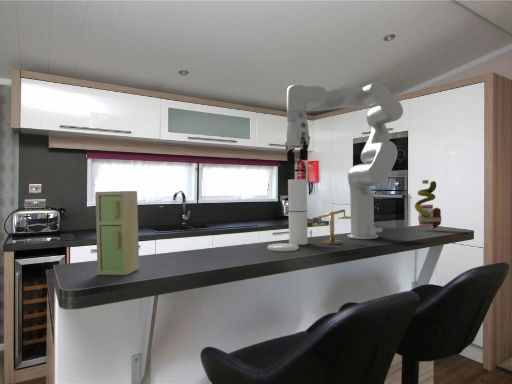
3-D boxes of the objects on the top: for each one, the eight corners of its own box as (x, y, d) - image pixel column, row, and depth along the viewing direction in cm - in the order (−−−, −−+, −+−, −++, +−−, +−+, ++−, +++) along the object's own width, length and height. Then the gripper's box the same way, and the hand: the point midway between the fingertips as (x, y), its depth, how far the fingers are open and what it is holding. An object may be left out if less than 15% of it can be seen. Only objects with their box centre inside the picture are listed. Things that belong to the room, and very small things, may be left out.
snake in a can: (416, 231, 156) (415, 180, 156) (414, 229, 165) (413, 180, 165) (443, 232, 151) (442, 179, 151) (440, 229, 161) (439, 180, 161)
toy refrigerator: (94, 275, 79) (93, 191, 79) (112, 268, 87) (111, 191, 87) (123, 276, 78) (122, 190, 78) (139, 269, 85) (138, 190, 85)
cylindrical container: (286, 244, 124) (285, 179, 124) (293, 241, 130) (292, 180, 130) (303, 245, 121) (302, 178, 121) (309, 242, 127) (308, 179, 127)
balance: (345, 241, 129) (345, 208, 129) (354, 242, 124) (353, 209, 125) (310, 244, 122) (309, 210, 122) (317, 246, 118) (316, 210, 118)
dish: (289, 245, 121) (289, 242, 121) (304, 249, 111) (304, 246, 111) (262, 247, 117) (262, 244, 117) (276, 252, 107) (276, 249, 107)
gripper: (317, 113, 119) (317, 159, 119) (293, 123, 135) (294, 163, 135) (300, 111, 116) (300, 158, 116) (278, 121, 132) (278, 163, 132)
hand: (297, 161), depth 126 cm, fingers open, 9 cm apart
